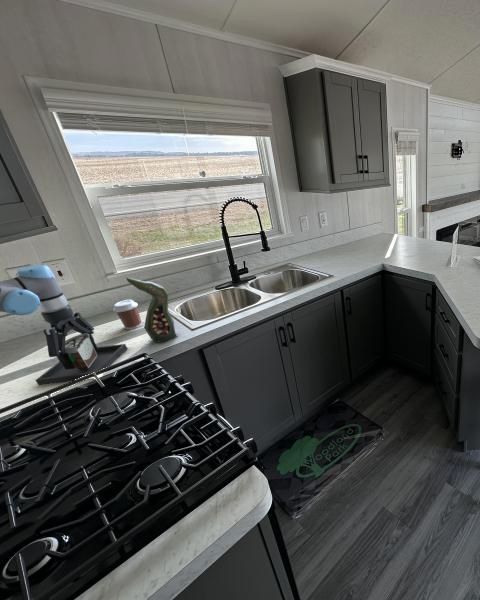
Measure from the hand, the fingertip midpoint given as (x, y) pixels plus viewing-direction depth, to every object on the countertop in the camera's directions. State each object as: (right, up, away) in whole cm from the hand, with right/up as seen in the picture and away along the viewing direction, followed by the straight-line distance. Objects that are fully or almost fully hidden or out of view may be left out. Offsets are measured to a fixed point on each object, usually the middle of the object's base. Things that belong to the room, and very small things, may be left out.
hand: (82, 358), depth 125 cm
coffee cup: (-5, +10, +30) cm, 32 cm away
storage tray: (0, -3, +2) cm, 3 cm away
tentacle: (+19, +6, +19) cm, 28 cm away
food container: (0, -2, 0) cm, 2 cm away
